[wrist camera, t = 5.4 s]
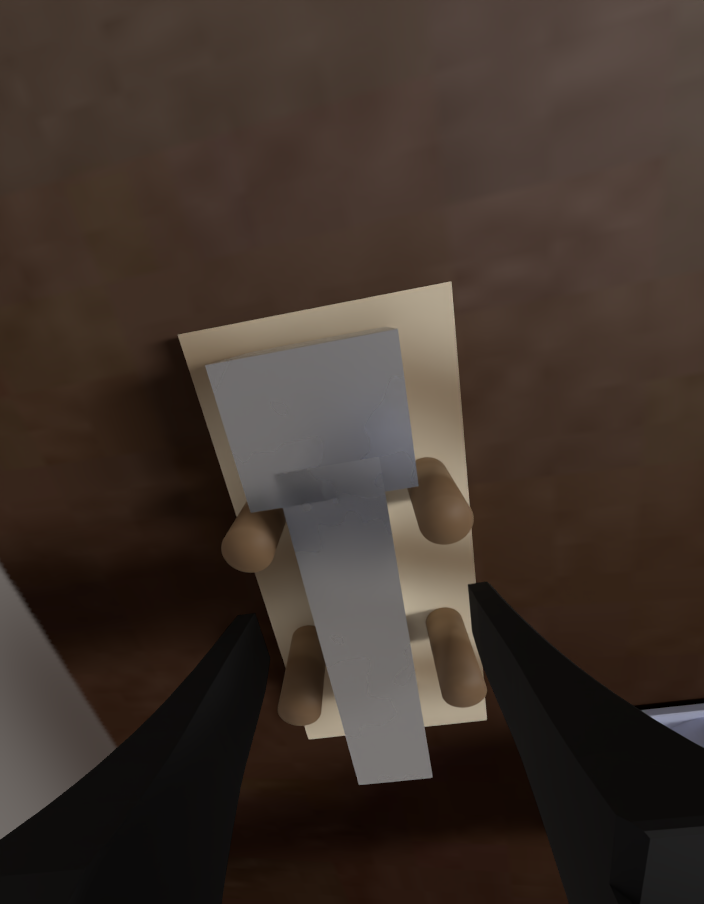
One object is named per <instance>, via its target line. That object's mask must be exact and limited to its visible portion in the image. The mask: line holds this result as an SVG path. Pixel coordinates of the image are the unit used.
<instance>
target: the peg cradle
mask: <svg viewBox="0 0 704 904" xmlns="http://www.w3.org/2000/svg"><path fill="white" fill-rule="evenodd" d="M385 326H386V327H391V328H396V329H398V333H399V341H400V348H401V356H402V363H403V371H404V378H405V386H406V393H407V401H408V409H409V416H410V424H411V431H412V439H413V446H414V454H415V462H416V469H417V477H418V484H419V486H418V487H411V488H405V489H399V490H392V491H386V492H385V494H386V500H387V506H388V512H389V518H390V524H391V530H392V536H393V542H394V548H395V554H396V560H397V566H398V572H399V578H400V584H401V590H402V596H403V602H404V608H405V614H406V620H407V626H408V632H409V638H410V644H411V650H412V656H413V662H414V668H415V674H416V680H417V686H418V692H419V698H420V704H421V710H422V716H423V722H424V727H427V726H436V725H446V724H455V723H464V722H473V721H482V720H487V716H486V704H485V696H486V693H487V687H486V684H485V681H484V679H483V666H482V663H481V660H480V657H479V653H478V650H477V647H476V644H475V640H474V637H473V634H472V627H471V615H470V604H469V593H468V584H473V583H476V580H475V568H474V555H473V543H472V531H471V528H472V525H473V520H474V517H473V512H472V510H471V508H470V506H469V493H468V481H467V469H466V456H465V444H464V432H463V419H462V407H461V395H460V382H459V370H458V358H457V345H456V333H455V320H454V308H453V296H452V283H451V282H446V283H441V284H436V285H430V286H425V287H420V288H415V289H410V290H405V291H400V292H395V293H390V294H384V295H379V296H374V297H369V298H364V299H359V300H354V301H349V302H343V303H338V304H333V305H328V306H323V307H318V308H313V309H308V310H302V311H297V312H292V313H287V314H282V315H277V316H272V317H267V318H262V319H256V320H251V321H246V322H241V323H236V324H231V325H226V326H221V327H215V328H210V329H205V330H200V331H195V332H190V333H185V334H180V335H178V337H179V340H180V344H181V347H182V350H183V353H184V356H185V359H186V362H187V365H188V368H189V371H190V374H191V377H192V381H193V384H194V387H195V390H196V393H197V396H198V399H199V402H200V405H201V408H202V411H203V415H204V418H205V421H206V424H207V427H208V430H209V433H210V436H211V439H212V442H213V445H214V448H215V452H216V455H217V458H218V461H219V464H220V467H221V470H222V473H223V476H224V479H225V482H226V486H227V489H228V492H229V495H230V498H231V501H232V504H233V507H234V510H235V513H236V516H237V518H236V519H235V521H234V523H233V524H232V526H231V528H230V529H229V531H228V532H227V534H226V536H225V537H224V539H223V541H222V545H221V551H222V555H223V557H224V559H225V560H226V562H227V563H228V564H229V565H230V566H232V567H233V568H235V569H237V570H239V571H242V572H248V573H253V572H255V575H256V578H257V581H258V584H259V587H260V590H261V594H262V597H263V600H264V603H265V606H266V609H267V612H268V615H269V618H270V621H271V624H272V628H273V631H274V634H275V637H276V640H277V643H278V646H279V649H280V652H281V655H282V658H283V661H284V665H285V668H286V670H285V675H284V680H283V685H282V690H281V694H280V699H279V704H278V714H279V716H280V717H281V718H282V719H283V720H284V721H285V722H287V723H289V724H292V725H297V726H305V729H306V732H307V736H308V739H317V738H326V737H335V736H344V735H345V733H344V729H343V725H342V722H341V718H340V714H339V711H338V707H337V703H336V700H335V696H334V693H333V689H332V685H331V682H330V678H329V674H328V671H327V667H326V664H325V660H324V656H323V653H322V649H321V645H320V642H319V638H318V634H317V631H316V627H315V624H314V620H313V616H312V613H311V609H310V605H309V602H308V598H307V595H306V591H305V587H304V584H303V580H302V576H301V573H300V569H299V565H298V562H297V558H296V555H295V551H294V547H293V544H292V540H291V536H290V533H289V529H288V525H287V522H286V518H285V515H284V511H283V508H278V509H272V510H265V511H259V512H253V513H251V512H250V509H249V506H248V503H247V500H246V496H245V493H244V490H243V487H242V483H241V480H240V477H239V474H238V471H237V467H236V464H235V461H234V458H233V454H232V451H231V448H230V445H229V441H228V438H227V435H226V432H225V429H224V425H223V422H222V419H221V416H220V412H219V409H218V406H217V403H216V400H215V396H214V393H213V390H212V387H211V383H210V380H209V377H208V374H207V370H206V367H205V365H208V364H211V363H215V362H218V361H222V360H225V359H229V358H232V357H235V356H239V355H242V354H246V353H249V352H254V351H259V350H265V349H270V348H275V347H280V346H286V345H291V344H296V343H301V342H307V341H312V340H317V339H322V338H328V337H333V336H338V335H343V334H349V333H354V332H359V331H364V330H370V329H375V328H380V327H385Z"/></svg>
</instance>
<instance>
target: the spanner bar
mask: <svg viewBox="0 0 704 904" xmlns="http://www.w3.org/2000/svg"><path fill="white" fill-rule="evenodd" d="M205 367H206V370H207V374H208V377H209V380H210V383H211V387H212V390H213V393H214V396H215V400H216V403H217V406H218V409H219V412H220V416H221V419H222V422H223V425H224V429H225V432H226V435H227V438H228V441H229V445H230V448H231V451H232V454H233V458H234V461H235V464H236V467H237V471H238V474H239V477H240V480H241V483H242V487H243V490H244V493H245V496H246V500H247V503H248V506H249V509H250V512H251V513H253V512H259V511H265V510H272V509H278V508H283V511H284V515H285V518H286V522H287V525H288V529H289V533H290V536H291V540H292V544H293V547H294V551H295V555H296V558H297V562H298V565H299V569H300V573H301V576H302V580H303V584H304V587H305V591H306V595H307V598H308V602H309V605H310V609H311V613H312V616H313V620H314V624H315V627H316V631H317V634H318V638H319V642H320V645H321V649H322V653H323V656H324V660H325V664H326V667H327V671H328V674H329V678H330V682H331V685H332V689H333V693H334V696H335V700H336V703H337V707H338V711H339V714H340V718H341V722H342V725H343V729H344V733H345V736H346V740H347V743H348V747H349V751H350V754H351V758H352V762H353V765H354V769H355V773H356V776H357V780H358V783H359V785H365V784H375V783H385V782H395V781H405V780H415V779H425V778H433V776H432V770H431V764H430V758H429V752H428V746H427V740H426V734H425V728H424V722H423V716H422V710H421V704H420V698H419V692H418V686H417V680H416V674H415V668H414V662H413V656H412V650H411V644H410V638H409V632H408V626H407V620H406V614H405V608H404V602H403V596H402V590H401V584H400V578H399V572H398V566H397V560H396V554H395V548H394V542H393V536H392V530H391V524H390V518H389V512H388V506H387V500H386V494H385V492H386V491H392V490H399V489H405V488H411V487H418V486H419V484H418V477H417V469H416V462H415V454H414V446H413V439H412V431H411V424H410V416H409V409H408V401H407V393H406V386H405V378H404V371H403V363H402V356H401V348H400V341H399V333H398V329H396V328H391V327H386V326H385V327H380V328H375V329H370V330H364V331H359V332H354V333H349V334H343V335H338V336H333V337H328V338H322V339H317V340H312V341H307V342H301V343H296V344H291V345H286V346H280V347H275V348H270V349H265V350H259V351H254V352H249V353H246V354H242V355H239V356H235V357H232V358H229V359H225V360H222V361H218V362H215V363H211V364H208V365H205Z"/></svg>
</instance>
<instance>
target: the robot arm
mask: <svg viewBox="0 0 704 904" xmlns="http://www.w3.org/2000/svg"><path fill="white" fill-rule="evenodd" d="M468 593H469V604H470V615H471V627H472V634H473V637H474V640H475V644H476V647H477V650H478V653H479V657H480V660H481V663H482V666H483V668H484V670H485V673H486V675H487V678H488V680H489V682H490V685H491V687H492V689H493V692H494V694H495V696H496V699H497V701H498V703H499V706H500V708H501V710H502V713H503V715H504V717H505V720H506V722H507V724H508V727H509V729H510V731H511V734H512V736H513V738H514V741H515V743H516V746H517V748H518V751H519V753H520V756H521V759H522V761H523V764H524V767H525V770H526V773H527V776H528V779H529V782H530V785H531V788H532V791H533V794H534V797H535V800H536V803H537V806H538V809H539V812H540V815H541V818H542V821H543V824H544V827H545V830H546V833H547V836H548V839H549V842H550V845H551V848H552V852H553V855H554V858H555V861H556V864H557V867H558V870H559V873H560V877H561V880H562V883H563V886H564V889H565V892H566V895H567V899H568V902H569V904H704V703H702V704H692V705H683V706H674V707H665V708H655V709H646V710H639V709H638V708H636V707H635V706H633V705H632V704H630V703H628V702H627V701H625V700H624V699H622V698H621V697H619V696H618V695H616V694H615V693H613V692H612V691H611V690H609V689H608V688H606V687H605V686H603V685H602V684H601V683H599V682H598V681H596V680H595V679H594V678H592V677H591V676H590V675H588V674H587V673H586V672H584V671H583V670H582V669H580V668H579V667H578V666H577V665H575V664H574V663H573V662H572V661H570V660H569V659H568V658H567V657H565V656H564V655H563V654H562V653H561V652H559V651H558V650H557V649H556V648H555V647H554V646H552V645H551V644H550V643H549V642H548V641H547V640H545V639H544V638H543V637H542V636H541V635H540V634H539V633H538V632H537V631H536V630H535V629H533V628H532V627H531V626H530V625H529V624H528V623H527V622H526V621H525V620H524V619H523V618H522V617H521V616H520V615H519V614H518V613H517V612H516V611H515V610H514V609H513V608H512V607H511V606H510V605H509V604H508V603H507V602H506V601H505V600H504V599H503V598H502V597H501V596H500V595H499V594H498V592H497V591H496V590H495V589H494V588H493V587H492V586H491V585H490V584H489V583H488V582H480V583H473V584H468ZM269 663H270V656H269V653H268V650H267V647H266V644H265V641H264V638H263V635H262V632H261V629H260V626H259V623H258V620H257V617H256V614H255V613H252V614H244V615H238V616H237V617H236V618H235V619H234V621H233V622H232V623H231V624H230V626H229V627H228V628H227V629H226V631H225V632H224V633H223V634H222V636H221V637H220V638H219V639H218V641H217V642H216V643H215V644H214V646H213V647H212V648H211V649H210V650H209V652H208V653H207V654H206V655H205V657H204V658H203V659H202V660H201V661H200V663H199V664H198V665H197V666H196V667H195V669H194V670H193V671H192V672H191V673H190V674H189V675H188V677H187V678H186V679H185V680H184V681H183V682H182V683H181V684H180V686H179V687H178V688H177V689H176V690H175V691H174V692H173V693H172V695H171V696H170V697H169V698H168V699H167V700H166V701H165V702H164V703H163V704H162V705H161V706H160V707H159V708H158V709H157V711H156V712H155V713H154V714H153V715H152V716H151V717H150V718H149V719H148V720H146V721H145V722H144V723H143V724H142V725H141V726H140V727H139V728H138V729H137V730H136V731H135V732H134V733H133V734H132V735H131V736H130V737H129V738H128V739H127V740H125V741H124V742H123V743H122V744H121V745H120V746H119V747H118V748H116V749H115V750H114V751H113V752H112V753H111V754H110V755H109V756H107V757H106V758H105V759H104V760H103V761H102V762H101V763H100V764H98V765H97V766H96V767H95V768H94V769H93V770H91V771H90V772H89V773H88V774H86V775H85V776H84V777H83V778H82V779H80V780H79V781H78V782H77V783H76V784H74V785H73V786H72V787H70V788H69V789H68V790H67V791H66V792H64V793H63V794H62V795H60V796H59V797H58V798H56V799H55V800H54V801H53V802H51V803H50V804H49V805H47V806H46V807H45V808H43V809H42V810H41V811H39V812H38V813H37V814H35V815H34V816H33V817H31V818H30V819H28V820H27V821H25V822H24V823H23V824H21V825H20V826H19V827H17V828H16V829H14V830H13V831H12V832H10V833H9V834H7V835H6V836H5V837H3V838H2V839H0V904H221V903H222V896H223V889H224V882H225V875H226V869H227V862H228V856H229V850H230V844H231V838H232V832H233V826H234V820H235V815H236V809H237V804H238V798H239V793H240V787H241V783H242V779H243V774H244V770H245V766H246V762H247V759H248V755H249V751H250V747H251V744H252V740H253V736H254V732H255V729H256V725H257V721H258V718H259V714H260V710H261V706H262V702H263V698H264V694H265V690H266V684H267V678H268V670H269Z"/></svg>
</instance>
